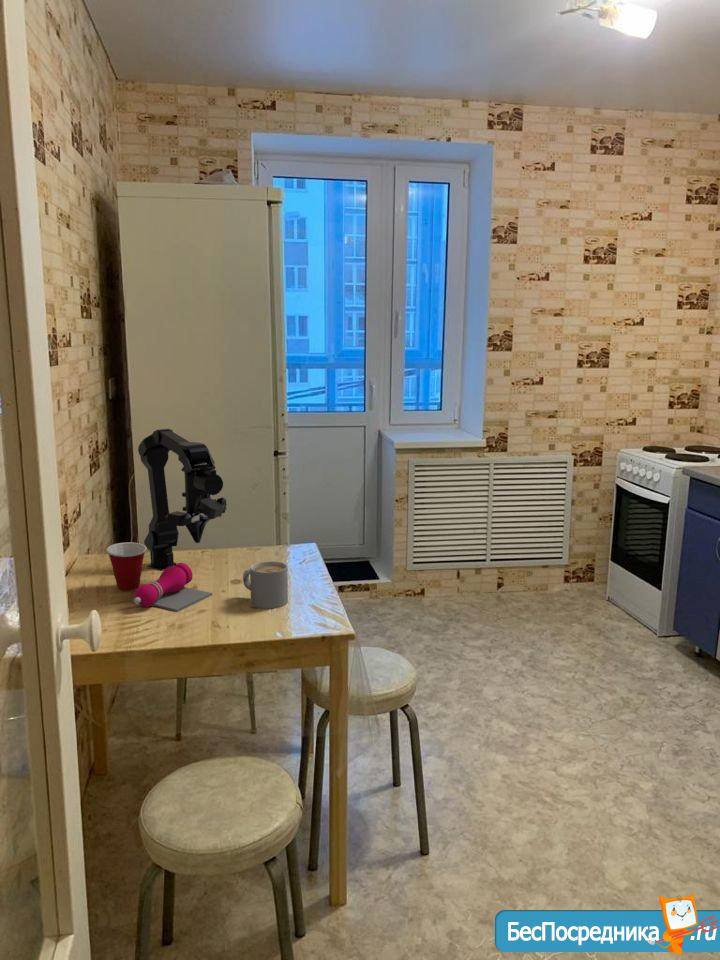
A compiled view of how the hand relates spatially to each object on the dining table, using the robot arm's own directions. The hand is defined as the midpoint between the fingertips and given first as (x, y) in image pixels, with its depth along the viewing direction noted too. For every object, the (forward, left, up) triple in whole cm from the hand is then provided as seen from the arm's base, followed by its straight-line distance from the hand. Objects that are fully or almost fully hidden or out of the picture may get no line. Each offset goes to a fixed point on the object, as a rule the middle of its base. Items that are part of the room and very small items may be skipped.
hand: (197, 542), depth 198 cm
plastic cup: (-16, -11, -13) cm, 24 cm away
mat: (0, -11, -13) cm, 17 cm away
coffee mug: (+23, 0, -13) cm, 27 cm away
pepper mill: (-2, -3, -8) cm, 9 cm away
